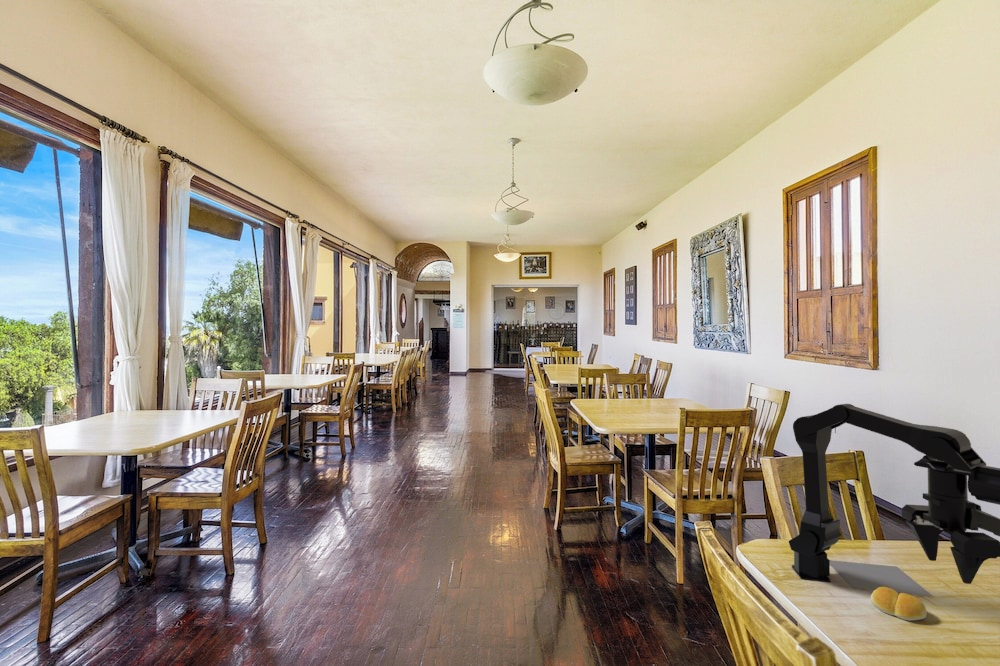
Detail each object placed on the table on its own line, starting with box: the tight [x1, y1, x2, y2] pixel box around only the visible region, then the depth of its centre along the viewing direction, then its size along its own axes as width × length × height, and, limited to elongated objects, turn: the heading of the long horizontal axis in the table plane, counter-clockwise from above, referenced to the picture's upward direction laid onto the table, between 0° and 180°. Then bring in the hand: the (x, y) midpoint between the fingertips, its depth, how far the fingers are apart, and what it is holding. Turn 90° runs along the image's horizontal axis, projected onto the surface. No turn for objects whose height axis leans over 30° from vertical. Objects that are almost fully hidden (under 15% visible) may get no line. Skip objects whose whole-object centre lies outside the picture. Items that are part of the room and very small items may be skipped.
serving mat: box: [829, 559, 934, 598], centre depth 114 cm, size 16×14×1 cm
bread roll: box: [870, 587, 927, 622], centre depth 100 cm, size 8×9×4 cm
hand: (948, 571), depth 92 cm, fingers open, 9 cm apart
